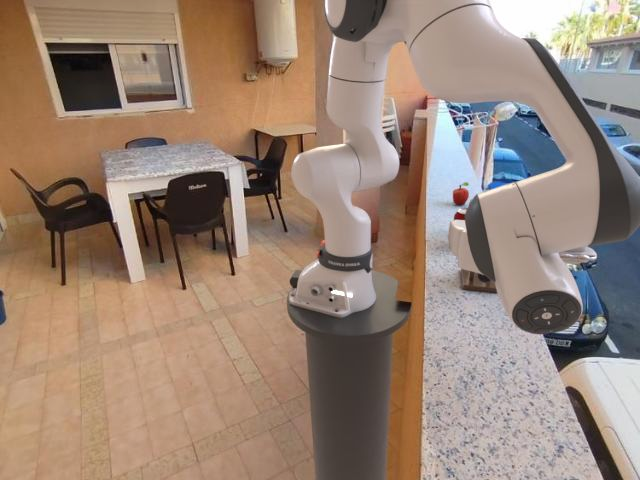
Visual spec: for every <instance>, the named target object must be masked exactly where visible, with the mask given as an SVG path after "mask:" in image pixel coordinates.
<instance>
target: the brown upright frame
mask: <svg viewBox="0 0 640 480" xmlns="http://www.w3.org/2000/svg"><path fill="white" fill-rule="evenodd" d="M460 271H461V272H460V274H461V284H462V290H466V291H474V292H475V291H476V292H484V293H493V294H498V293H497V290H496V286H495V282H494V281H490V282H488V283H483V282H481V281H480V280H479V279H478V277H477V274H478V273H476V272H472V271H468V270H464V269H461V268H460Z"/></svg>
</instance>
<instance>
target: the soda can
mask: <svg viewBox="0 0 640 480" xmlns="http://www.w3.org/2000/svg"><path fill="white" fill-rule="evenodd" d="M467 209H468V207H460V208H457V209H456V212H455V213H454V214H453V220H465V214H466V211H467Z"/></svg>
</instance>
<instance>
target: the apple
mask: <svg viewBox="0 0 640 480" xmlns="http://www.w3.org/2000/svg"><path fill="white" fill-rule="evenodd" d="M463 186H464V187H463ZM467 186H470V184H469V182H467V181H465V182H463V183H462V184H459V185H458V187H459V188H456V189H453V191H452V200H453V204H455V206H464V205H466V203H467V201H468V200H469V198H470V197H469V196H470V192H469V190H468V189H467V188H465V187H467Z"/></svg>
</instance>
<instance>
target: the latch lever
mask: <svg viewBox="0 0 640 480" xmlns="http://www.w3.org/2000/svg"><path fill="white" fill-rule="evenodd" d="M477 277H478V279H479V280H480V281H481V282H483V283H488V282H490V281H492V280H490V279H489V278H487V277H486V276H485V275H482V274H479V273H478V274H477Z"/></svg>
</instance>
